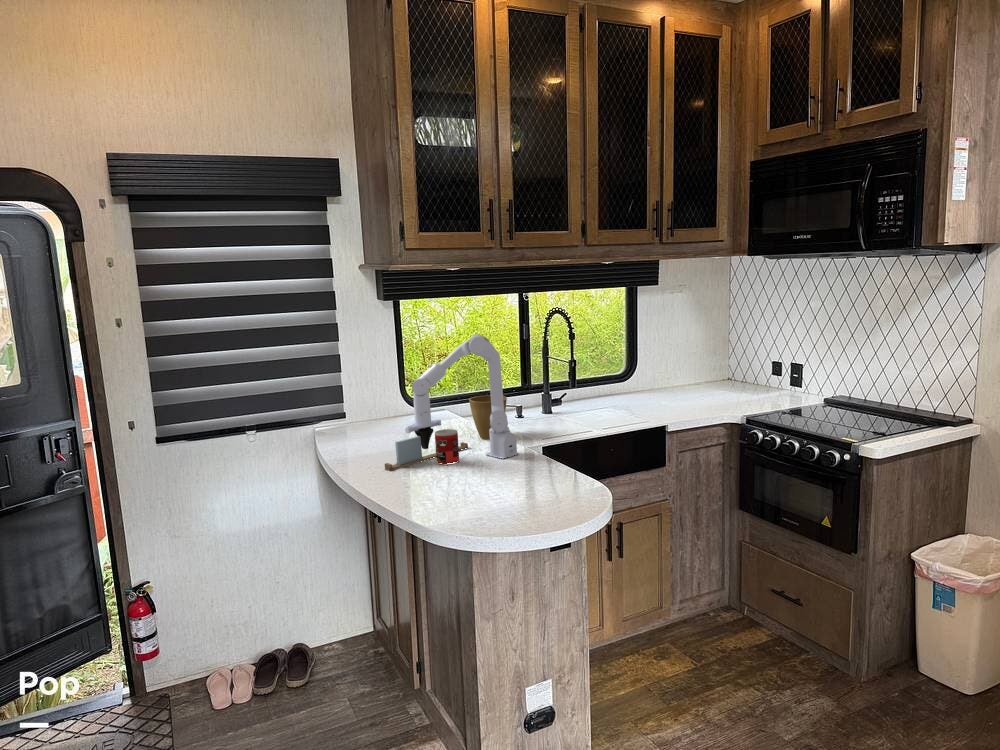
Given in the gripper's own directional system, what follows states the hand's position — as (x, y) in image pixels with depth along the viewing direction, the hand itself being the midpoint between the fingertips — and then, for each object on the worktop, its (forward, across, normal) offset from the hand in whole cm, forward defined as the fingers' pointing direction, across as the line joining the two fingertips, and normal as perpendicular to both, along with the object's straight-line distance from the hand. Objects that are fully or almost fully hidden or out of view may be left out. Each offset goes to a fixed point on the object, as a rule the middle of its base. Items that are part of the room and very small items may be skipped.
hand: (425, 448), depth 248 cm
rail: (+4, -1, 0) cm, 4 cm away
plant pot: (+4, -35, -4) cm, 36 cm away
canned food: (+4, -3, +10) cm, 11 cm away
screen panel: (+4, +7, 0) cm, 8 cm away
